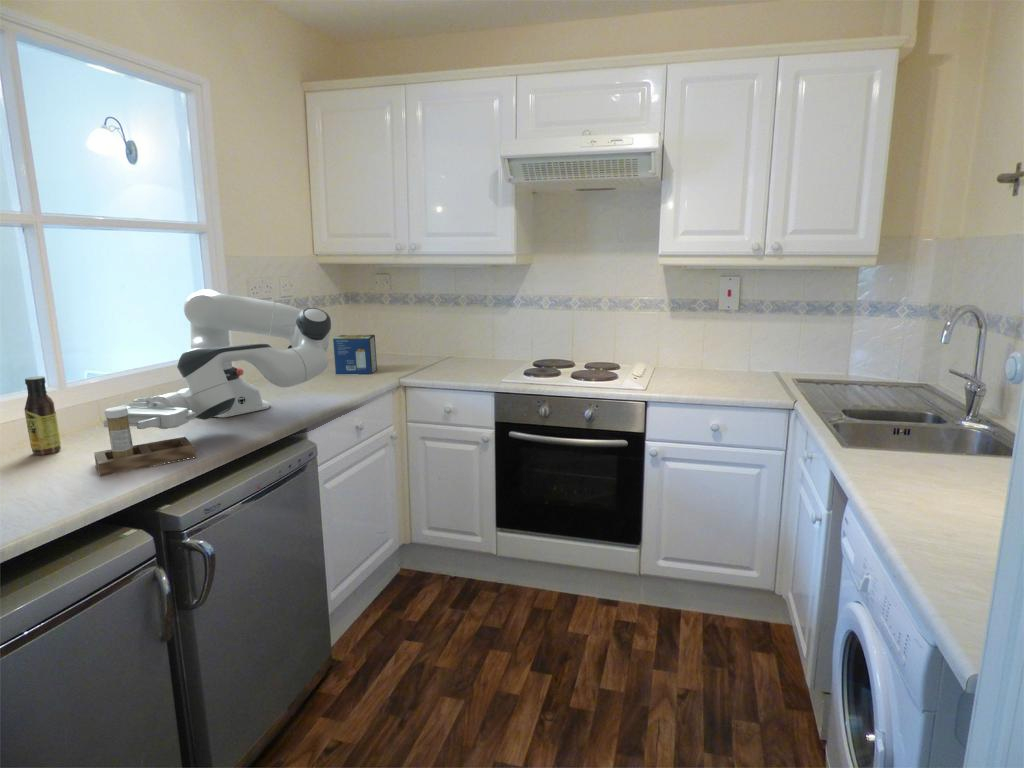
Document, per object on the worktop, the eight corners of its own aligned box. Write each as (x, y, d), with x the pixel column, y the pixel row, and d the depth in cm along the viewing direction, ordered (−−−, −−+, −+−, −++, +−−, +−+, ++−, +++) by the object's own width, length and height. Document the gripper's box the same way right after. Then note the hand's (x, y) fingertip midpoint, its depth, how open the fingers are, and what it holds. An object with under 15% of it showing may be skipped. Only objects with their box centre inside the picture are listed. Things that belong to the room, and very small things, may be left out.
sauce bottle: (30, 452, 161) (16, 377, 157) (59, 447, 165) (46, 373, 161) (34, 458, 156) (20, 380, 152) (64, 452, 161) (51, 377, 157)
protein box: (342, 370, 270) (339, 334, 267) (377, 369, 270) (375, 334, 266) (334, 374, 260) (332, 338, 257) (371, 374, 259) (368, 337, 256)
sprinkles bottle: (119, 459, 152) (110, 406, 149) (139, 458, 152) (130, 405, 149) (109, 465, 147) (100, 411, 144) (129, 464, 148) (121, 410, 145)
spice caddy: (186, 447, 163) (185, 436, 162) (195, 457, 154) (194, 446, 153) (95, 464, 151) (93, 452, 150) (100, 476, 142) (98, 463, 142)
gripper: (201, 424, 160) (161, 439, 147) (135, 421, 165) (89, 435, 151) (198, 400, 159) (157, 413, 146) (131, 398, 163) (85, 410, 150)
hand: (122, 425), depth 149 cm, fingers open, 8 cm apart
